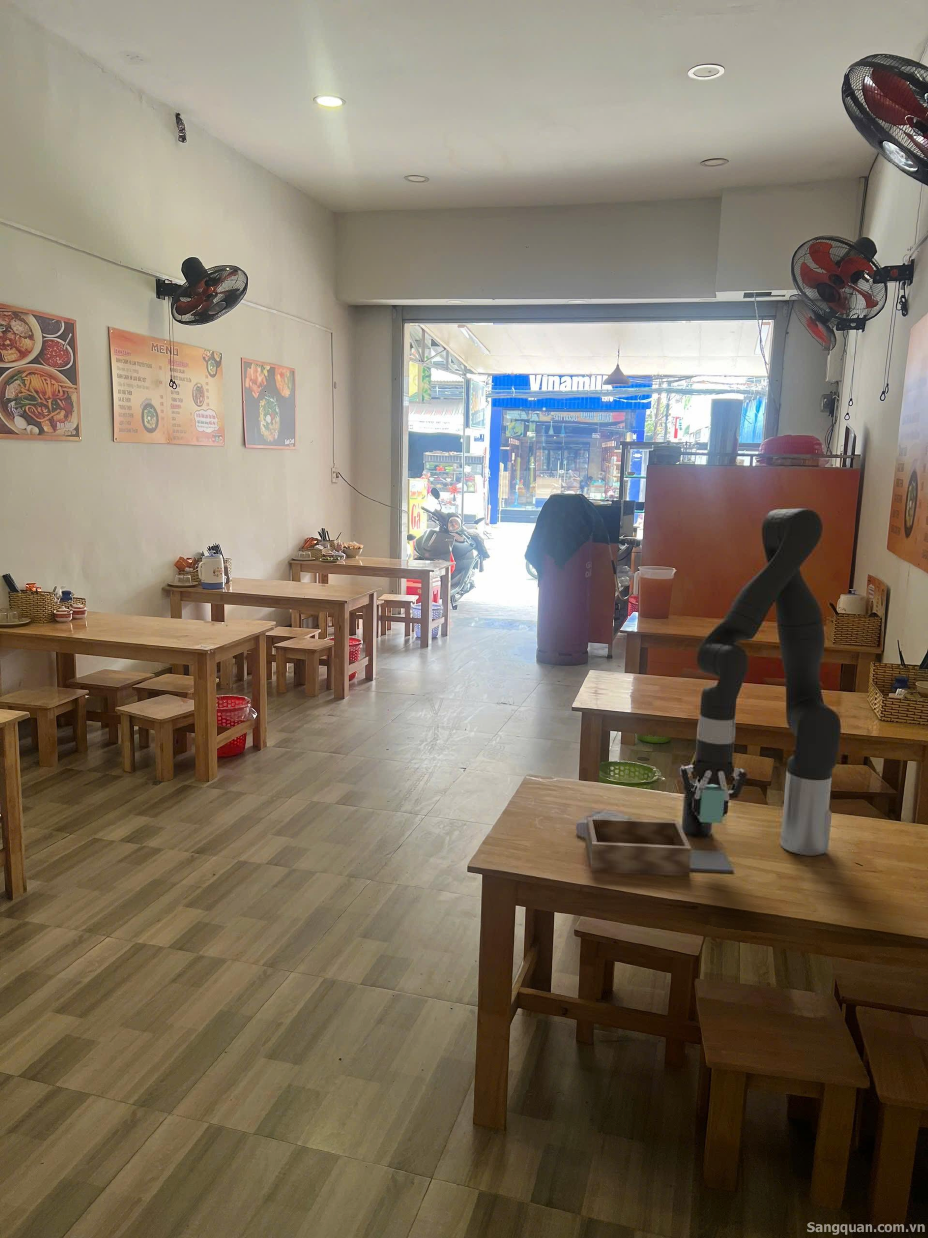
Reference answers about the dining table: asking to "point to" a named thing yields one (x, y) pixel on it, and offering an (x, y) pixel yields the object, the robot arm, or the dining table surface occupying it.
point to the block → (712, 804)
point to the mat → (710, 861)
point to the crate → (637, 846)
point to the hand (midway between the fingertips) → (709, 814)
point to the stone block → (582, 825)
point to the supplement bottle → (693, 818)
